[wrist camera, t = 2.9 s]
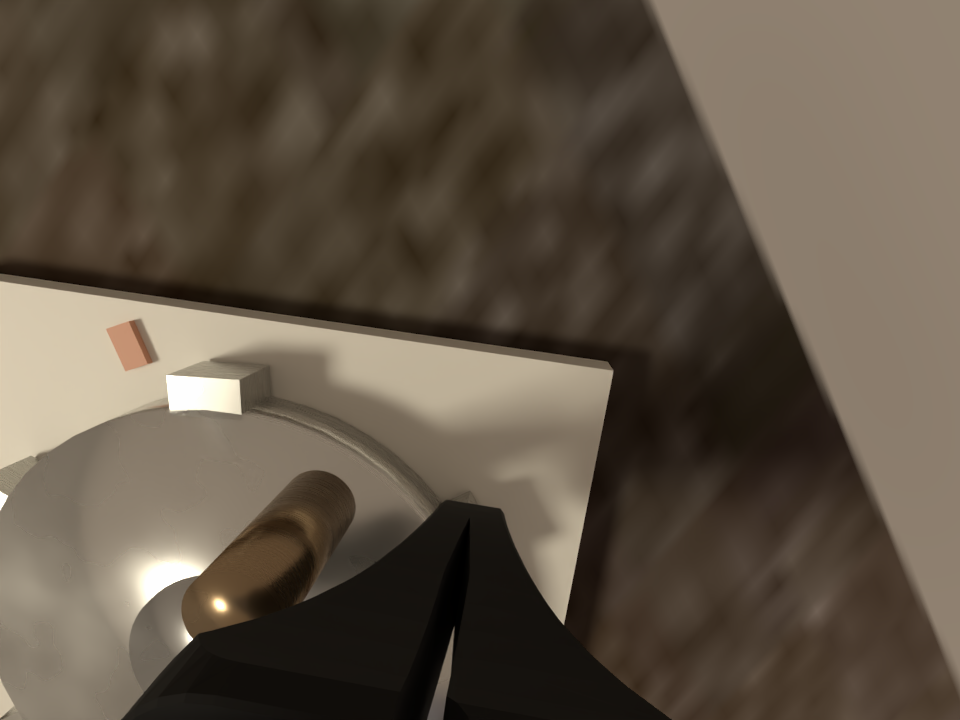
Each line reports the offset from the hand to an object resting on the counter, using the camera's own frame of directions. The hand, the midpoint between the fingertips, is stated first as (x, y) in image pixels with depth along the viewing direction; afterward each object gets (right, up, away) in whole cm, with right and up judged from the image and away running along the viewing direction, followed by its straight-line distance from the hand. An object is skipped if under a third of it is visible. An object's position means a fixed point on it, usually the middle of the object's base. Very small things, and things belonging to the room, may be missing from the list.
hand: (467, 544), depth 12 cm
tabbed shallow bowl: (-6, -4, +4) cm, 8 cm away
